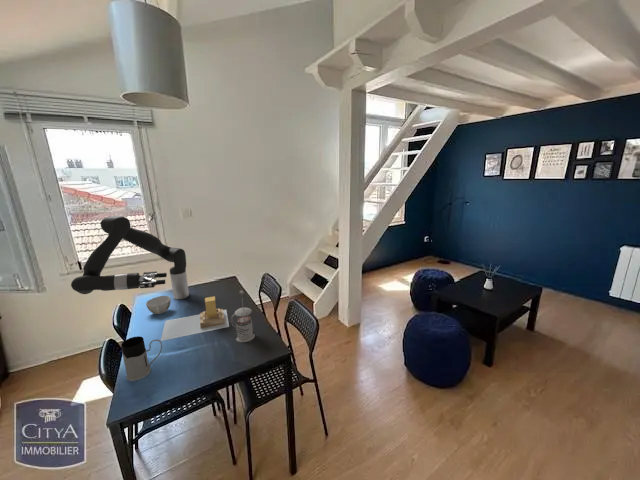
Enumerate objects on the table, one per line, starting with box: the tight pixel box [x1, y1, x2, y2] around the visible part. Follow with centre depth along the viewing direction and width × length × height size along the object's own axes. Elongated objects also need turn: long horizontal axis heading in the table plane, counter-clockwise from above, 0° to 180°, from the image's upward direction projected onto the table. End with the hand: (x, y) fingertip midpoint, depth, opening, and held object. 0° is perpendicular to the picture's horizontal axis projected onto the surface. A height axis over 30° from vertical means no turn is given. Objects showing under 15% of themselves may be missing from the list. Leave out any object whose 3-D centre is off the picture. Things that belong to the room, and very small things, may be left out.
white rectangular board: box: [160, 309, 230, 342], centre depth 149 cm, size 20×32×1 cm, turn 113°
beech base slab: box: [199, 308, 225, 328], centre depth 151 cm, size 12×12×4 cm
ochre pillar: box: [204, 296, 217, 318], centre depth 150 cm, size 5×5×10 cm
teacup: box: [145, 295, 172, 315], centre depth 160 cm, size 15×12×8 cm
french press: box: [230, 290, 256, 343], centre depth 136 cm, size 10×12×25 cm
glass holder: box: [120, 336, 163, 382], centre depth 113 cm, size 9×14×15 cm, turn 114°
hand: (166, 278), depth 138 cm, fingers open, 8 cm apart
